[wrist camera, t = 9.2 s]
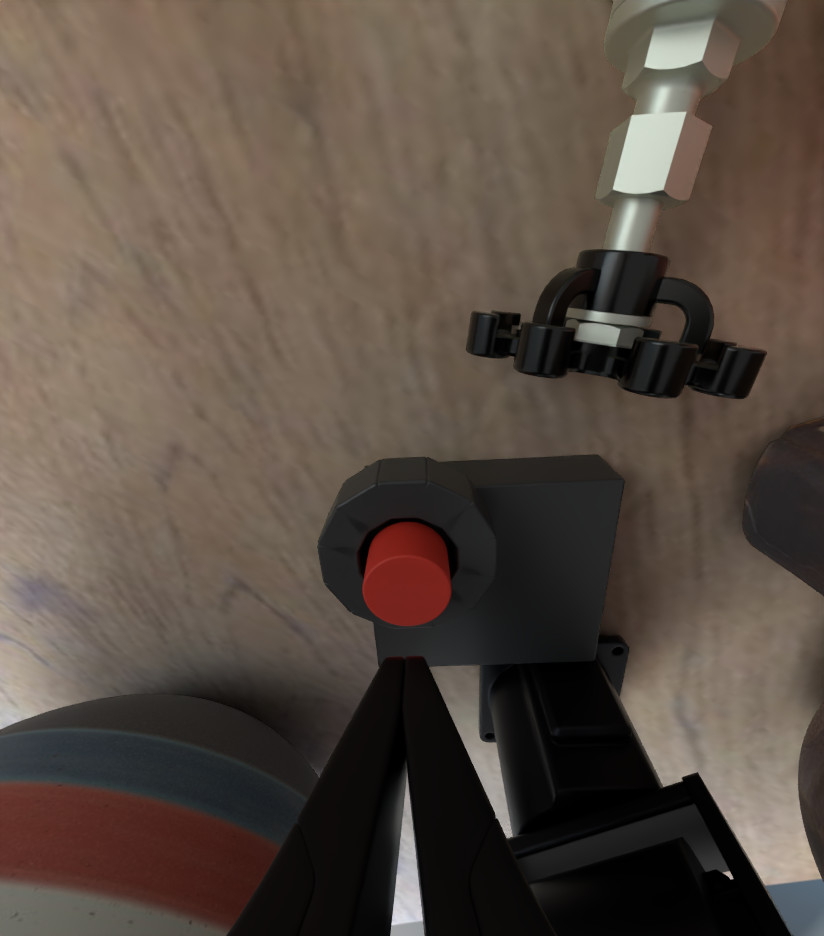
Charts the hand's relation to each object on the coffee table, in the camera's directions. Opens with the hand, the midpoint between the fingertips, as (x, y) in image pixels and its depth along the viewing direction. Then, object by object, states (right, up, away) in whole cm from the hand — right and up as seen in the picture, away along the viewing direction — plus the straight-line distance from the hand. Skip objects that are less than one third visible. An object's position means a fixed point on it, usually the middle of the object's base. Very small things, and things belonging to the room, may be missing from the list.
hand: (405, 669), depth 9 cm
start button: (0, +2, +4) cm, 4 cm away
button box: (+3, +1, +8) cm, 9 cm away
